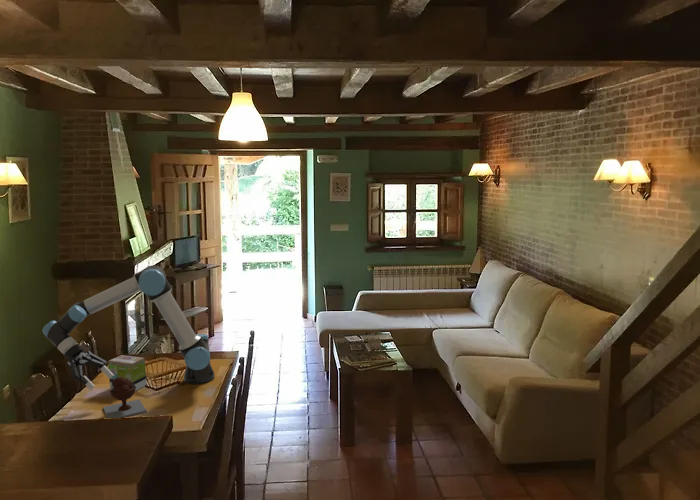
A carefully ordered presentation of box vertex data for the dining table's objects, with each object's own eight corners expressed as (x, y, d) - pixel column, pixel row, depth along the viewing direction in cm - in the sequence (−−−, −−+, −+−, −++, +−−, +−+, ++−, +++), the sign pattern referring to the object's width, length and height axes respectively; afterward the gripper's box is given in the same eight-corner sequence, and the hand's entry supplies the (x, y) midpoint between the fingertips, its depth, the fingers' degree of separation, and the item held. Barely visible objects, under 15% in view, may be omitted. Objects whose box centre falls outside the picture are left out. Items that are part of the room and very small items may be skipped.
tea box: (109, 389, 305) (106, 360, 303) (123, 382, 314) (121, 354, 312) (133, 392, 299) (131, 363, 297) (147, 385, 309) (145, 356, 307)
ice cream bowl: (129, 413, 271) (126, 381, 269) (106, 412, 274) (103, 380, 272) (142, 404, 282) (139, 372, 280) (120, 403, 284) (117, 372, 282)
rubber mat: (139, 400, 288) (139, 399, 288) (146, 412, 275) (146, 410, 274) (103, 408, 281) (102, 406, 281) (108, 420, 267) (108, 419, 267)
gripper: (84, 346, 295) (115, 378, 293) (46, 363, 271) (79, 398, 269) (93, 336, 293) (123, 367, 291) (55, 352, 269) (88, 387, 267)
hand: (102, 382), depth 280 cm, fingers open, 13 cm apart
